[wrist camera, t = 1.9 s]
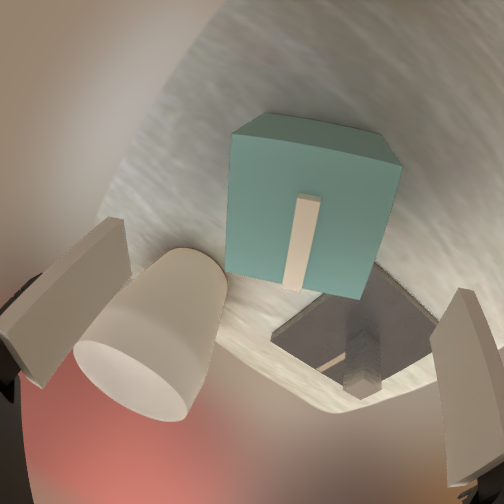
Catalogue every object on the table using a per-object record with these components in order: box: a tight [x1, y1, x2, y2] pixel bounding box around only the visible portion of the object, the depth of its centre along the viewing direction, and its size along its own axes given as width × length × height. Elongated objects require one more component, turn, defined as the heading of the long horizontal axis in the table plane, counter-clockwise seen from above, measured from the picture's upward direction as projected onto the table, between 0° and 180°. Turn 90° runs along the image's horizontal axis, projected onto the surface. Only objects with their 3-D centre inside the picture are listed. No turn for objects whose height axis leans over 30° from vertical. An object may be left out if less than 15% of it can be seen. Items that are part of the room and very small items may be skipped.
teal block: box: [225, 113, 403, 300], centre depth 17 cm, size 7×7×8 cm
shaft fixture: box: [270, 262, 439, 400], centre depth 24 cm, size 12×12×6 cm
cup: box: [73, 248, 228, 422], centre depth 23 cm, size 9×9×12 cm
